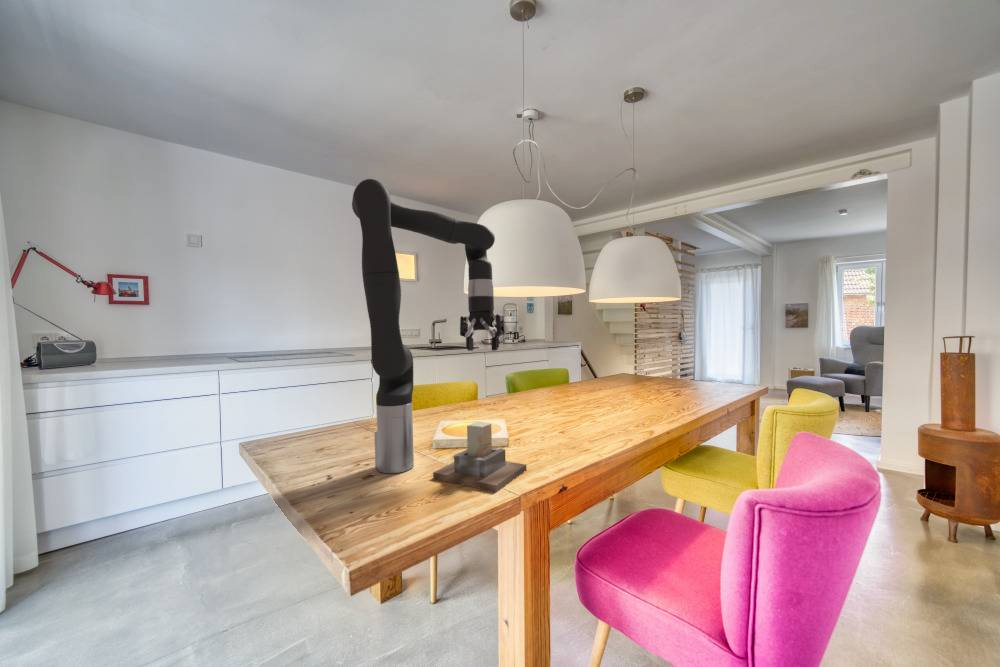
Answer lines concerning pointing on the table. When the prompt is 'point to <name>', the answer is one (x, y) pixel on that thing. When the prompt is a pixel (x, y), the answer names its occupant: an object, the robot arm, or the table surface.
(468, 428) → the box
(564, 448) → the table surface
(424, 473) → the table surface
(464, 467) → the socket
